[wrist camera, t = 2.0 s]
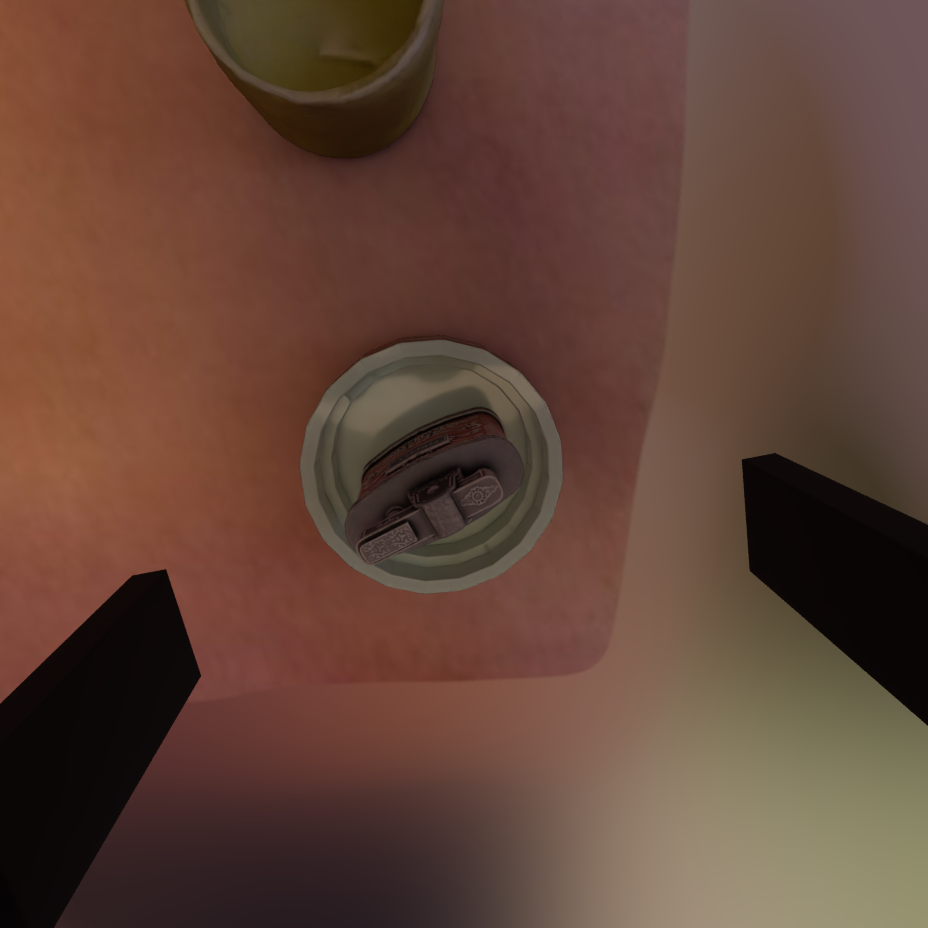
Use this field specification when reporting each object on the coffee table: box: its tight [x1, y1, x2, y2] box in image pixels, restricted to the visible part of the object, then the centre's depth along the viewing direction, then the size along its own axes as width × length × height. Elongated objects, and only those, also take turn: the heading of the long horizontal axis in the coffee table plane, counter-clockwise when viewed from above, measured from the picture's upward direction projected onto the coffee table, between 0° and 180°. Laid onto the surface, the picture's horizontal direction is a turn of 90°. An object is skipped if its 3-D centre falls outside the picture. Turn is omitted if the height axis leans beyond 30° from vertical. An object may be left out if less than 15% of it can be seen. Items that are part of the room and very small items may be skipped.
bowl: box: [299, 335, 563, 594], centre depth 33 cm, size 12×12×4 cm
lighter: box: [344, 406, 524, 565], centre depth 30 cm, size 8×3×10 cm, turn 117°
